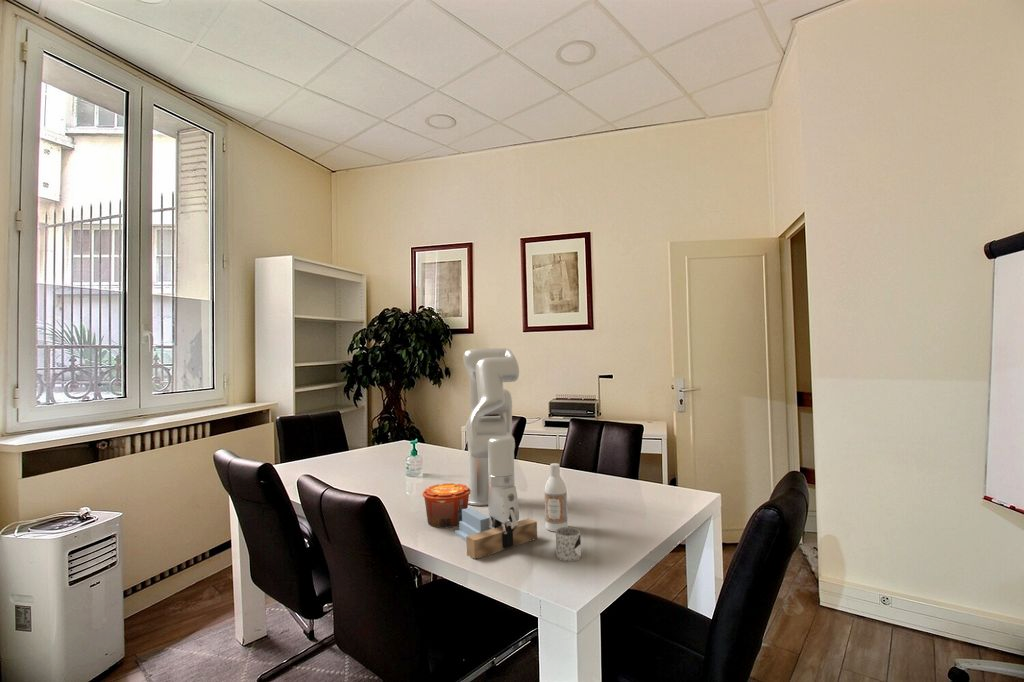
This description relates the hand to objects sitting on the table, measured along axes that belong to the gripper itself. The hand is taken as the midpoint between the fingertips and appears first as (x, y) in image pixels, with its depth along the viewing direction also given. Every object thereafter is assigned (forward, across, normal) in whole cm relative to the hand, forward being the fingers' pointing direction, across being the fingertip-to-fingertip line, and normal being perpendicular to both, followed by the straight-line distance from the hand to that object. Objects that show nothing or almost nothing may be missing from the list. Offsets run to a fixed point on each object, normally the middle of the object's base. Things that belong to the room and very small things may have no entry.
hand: (503, 543), depth 136 cm
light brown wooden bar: (+1, 0, 0) cm, 1 cm away
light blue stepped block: (+1, +11, +3) cm, 12 cm away
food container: (+1, +29, +4) cm, 29 cm away
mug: (+1, -15, -12) cm, 19 cm away
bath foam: (+1, +2, -21) cm, 21 cm away
